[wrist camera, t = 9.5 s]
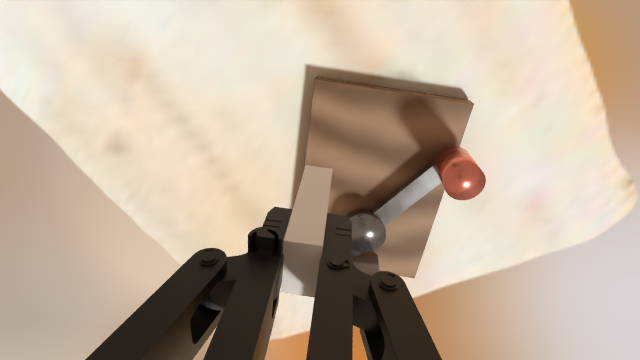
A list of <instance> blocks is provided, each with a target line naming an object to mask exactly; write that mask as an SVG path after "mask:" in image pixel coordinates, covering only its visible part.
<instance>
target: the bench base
mask: <svg viewBox="0 0 640 360" xmlns="http://www.w3.org/2000/svg"><path fill="white" fill-rule="evenodd" d="M473 105H474V104H473V103H472V102H471V101H469V100H462V99H456V98H449V97H443V96H436V95H430V94H423V93H417V92H410V91H404V90H397V89H390V88H384V87H377V86H371V85H364V84H358V83H351V82H345V81H338V80H332V79H325V78H318V77H316V79H315V83H314V91H313V99H312V108H311V116H310V124H309V132H308V141H307V149H306V157H305V165H309V166H317V167H324V168H332V169H333V171H332V179H331V187H330V194H329V202H328V210H327V213H330V214H337V215H344V216H347V215H348V214H349V213H351V212H352V211H354V210H357V209H371V210H372V209H373V208H374V207H376V206H377V205H378V204H379V203H380V202H382V201H383V200H384V199H385V198H387V197H388V196H389V195H390V194H392V193H393V192H394V191H395V190H397V189H398V188H399V187H400V186H402V185H403V184H404V183H405V182H406V181H408V180H409V179H410V178H411V177H413V176H414V175H415V174H416V173H418V172H419V171H420V170H421V169H423V168H424V167H425V166H426V165H428V164H429V163H430V162H431V161H432V160H434V159H435V158H436V156H437V155H438V154H439V153H440V152H441V151H442V150H444V149H446V148H448V147H454V146H455V147H459V146H460V143H461V140H462V137H463V134H464V131H465V129H466V126H467V123H468V120H469V117H470V114H471V111H472V108H473ZM305 165H304V169H305ZM444 190H445V188H444V186H443V184H442V183H440V184H439V185H438V186H436V187H435V188H434V189H432V190H431V191H430V192H428V193H427V194H426V195H425V196H423V197H422V198H421V199H419V200H418V201H417V202H415V203H414V204H413V205H412V206H410V207H409V208H408V209H406V210H405V211H404V212H402V213H401V214H400V215H398V216H397V217H396V218H395V219H393V220H392V221H391V222H389V223H388V224H387V225H385V228H386V239H385V242H384V243H383V245H382V246H381V247H380V248H378V249H377V250H375V251H372V252H362V253H361V254H359V255H358V256H357V257H355V258H354V259H352V262H353V264H354V265H355V267H356V268H357V269H359V270H360V271H362V272H364V273H366V274H369V275H371V276H372V275H373V274H375V273H376V272H379V271H389V272H392V273H394V274H397V275H398V276H404V277H410V278H415V275H416V272H417V269H418V266H419V263H420V260H421V257H422V254H423V252H424V249H425V246H426V243H427V240H428V237H429V234H430V231H431V228H432V225H433V222H434V219H435V216H436V213H437V211H438V208H439V205H440V202H441V199H442V196H443V193H444Z"/></svg>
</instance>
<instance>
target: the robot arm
mask: <svg viewBox="0 0 640 360" xmlns="http://www.w3.org/2000/svg"><path fill="white" fill-rule="evenodd" d="M332 171H333V169H332V168H324V167H317V166H309V165H305V169H304V172H303V175H302V179H301V182H300V186H299V189H298V193H297V196H296V200H295V203H294V206H293V209H287V208H279V207H274V208H273V209H272V210H270V211H269V212H268V214H267V216H266V219H265V221H264V224H263V226H262V227H259V228H256V229H254V230H252V231H251V232H250V233H249V234H248V253H246V254H243V255H239V256H232V257H226V254H225V253H224V252H223V251H222V250H220V249H216V248H206V249H203V250H200V251H198V252H197V253H195V254H194V255H193V256H192V257H191V258H190V259H189V260H188V261H187V262H186V263H185V264H183V265H182V266H181V267H180V268H179V269H178V270H177V271H176V272H175V273H174V274H173V275H172V276H171V277H170V278H169V279H168V280H167V281H166V282H165V283H164V284H163V285H162V286H161V287H160V288H159V289H158V290H157V291H156V292H155V293H154V294H153V295H152V296H150V298H148V299H147V301H145V303H143V304H142V305H141V306H140V307H139V308H138V309H137V310H136V311H135V312H134V313H133V314H132V315H131V316H130V317H129V318H128V319H127V320H126V321H125V322H124V323H123V324H122V325H121V326H120V327H119V328H118V329H117V330H115V331H114V332H113V333H112V334H111V335H110V336H109V337H108V338H107V339H106V340H105V341H104V342H103V343H102V344H101V345H100V346H99V347H98V348H97V349H96V350H95V351H94V352H93V353H92V354H91V355H90V356H89V357H88V358H87V359H86V360H193V358H194V357H195V355H196V354H197V353H198V351H199V350H200V349H201V347H202V346H203V344H204V343H205V342H206V340H207V339H208V338H209V336H210V335H211V333H212V332H213V330H214V329H215V328H216V327H217V328H216V330H215V333H214V335H213V338H212V340H211V342H210V345H209V347H208V350H207V352H206V355H205V357H204V359H203V360H264V359H265V355H266V351H267V347H268V343H269V339H270V335H271V331H272V327H273V323H274V319H275V314H276V310H277V306H278V300H279V292H281V293H289V294H296V295H303V296H310V297H315V300H314V307H313V314H312V322H311V329H310V336H309V344H308V351H307V358H306V360H352V336H353V335H352V333H353V331H352V330H353V329H352V328H353V325H354V326H357V327H359V328H360V333H361V337H362V340H363V343H364V347H365V350H366V354H367V358H368V360H442V359H441V357H440V355H439V353H438V351H437V349H436V347H435V344H434V342H433V340H432V338H431V336H430V334H429V332H428V330H427V328H426V326H425V324H424V321H423V319H422V317H421V315H420V313H419V311H418V309H417V307H416V305H415V303H414V301H413V299H412V297H411V294H410V292H409V290H408V288H407V286H406V284H405V282H404V281H403V280H402V278H401V277H399V276H398V275H397V274H394V273H392V272H389V271H379V272H376V273H375V274H373V275H372V276H371V275H369V274H366V273H364V272H362V271H360V270H359V269H357V268H356V267H355V265H354V264H353V262H352V222H351V220H350V219H349V217H348V216H344V215H337V214H330V213H327V210H328V202H329V194H330V187H331V179H332ZM280 288H281V290H280Z"/></svg>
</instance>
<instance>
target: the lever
mask: <svg viewBox="0 0 640 360" xmlns="http://www.w3.org/2000/svg"><path fill="white" fill-rule="evenodd" d="M485 182H486V179H485V175H484V173H483V172H482V170H481V169H480V168H479V167H478V165H477V164H476V163H475V161H474V160H473V159H472V157H471V156H470V155H469V154H468V152H467V151H466V150H465V149H463V148H461V147H455V146H454V147H448V148H446V149H444V150H442V151H441V152H440V153H439V154H438V155H437V156H436V158H435V159H434V160H432V161H431V162H430V163H429V164H428V165H426V166H425V167H424V168H423V169H421V170H420V171H419V172H418V173H416V174H415V175H414V176H413V177H411V178H410V179H409V180H408V181H406V182H405V183H404V184H403V185H402V186H400V187H399V188H398V189H397V190H395V191H394V192H393V193H392V194H390V195H389V196H388V197H387V198H385V199H384V200H383V201H382V202H380V203H379V204H378V205H377V206H376V207H374V208H373V209H372V210H371V209H357V210H354V211H352V212H351V213H349V214H348V215H347V216H348V217H349V219H350V220H351V222H352V259H354V258H355V257H357V256H358V255H359V254H361V253H362V252H372V251H375V250H377V249H378V248H380V247H381V246H382V245H383V243H384V242H385V239H386V228H385V225H387V224H388V223H389V222H391V221H392V220H393V219H395V218H396V217H397V216H398V215H400V214H401V213H402V212H404V211H405V210H406V209H408V208H409V207H410V206H412V205H413V204H414V203H415V202H417V201H418V200H419V199H421V198H422V197H423V196H425V195H426V194H427V193H428V192H430V191H431V190H432V189H434V188H435V187H436V186H438V185H439V184H440V183H442V184H443V186H444V188H445V190H446V192H447V194H448V195H449V196H450V197H452V198H454V199H457V200H468V199H471V198H474V197H475V196H477V195H478V194H479V193H480V192H481V191H482V190H483V188H484V186H485Z"/></svg>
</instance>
